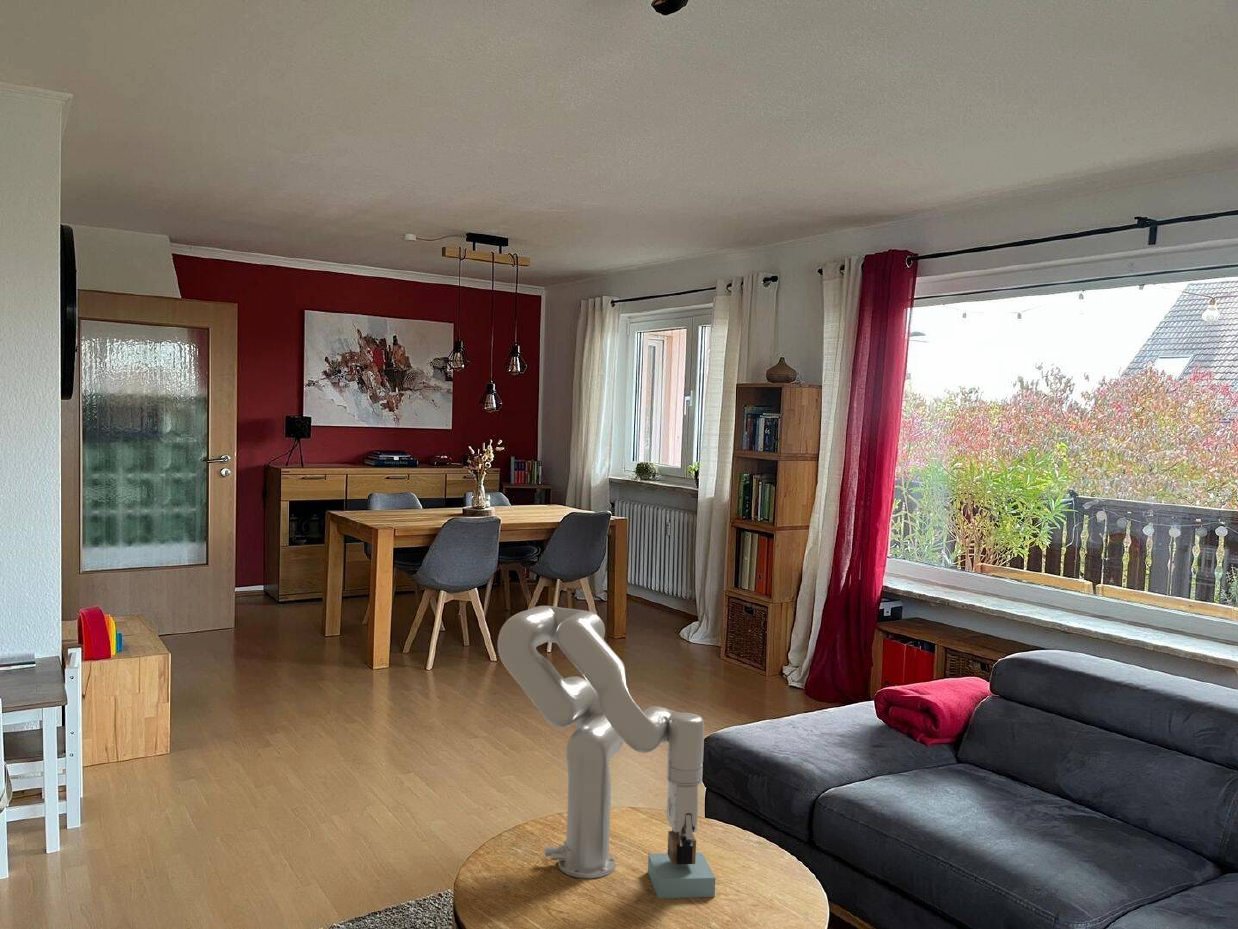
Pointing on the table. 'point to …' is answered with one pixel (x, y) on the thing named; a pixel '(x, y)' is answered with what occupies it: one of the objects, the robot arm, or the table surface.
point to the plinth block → (681, 877)
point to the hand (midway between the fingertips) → (681, 856)
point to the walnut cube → (672, 847)
